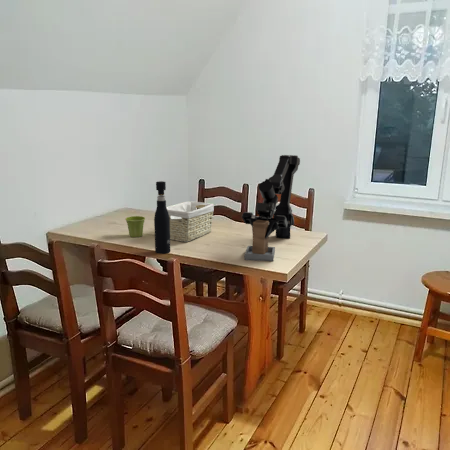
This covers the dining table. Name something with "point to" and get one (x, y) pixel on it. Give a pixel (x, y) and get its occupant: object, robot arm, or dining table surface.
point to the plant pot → (135, 225)
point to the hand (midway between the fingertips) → (259, 237)
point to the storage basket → (190, 220)
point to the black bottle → (161, 222)
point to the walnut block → (260, 237)
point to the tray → (260, 257)
